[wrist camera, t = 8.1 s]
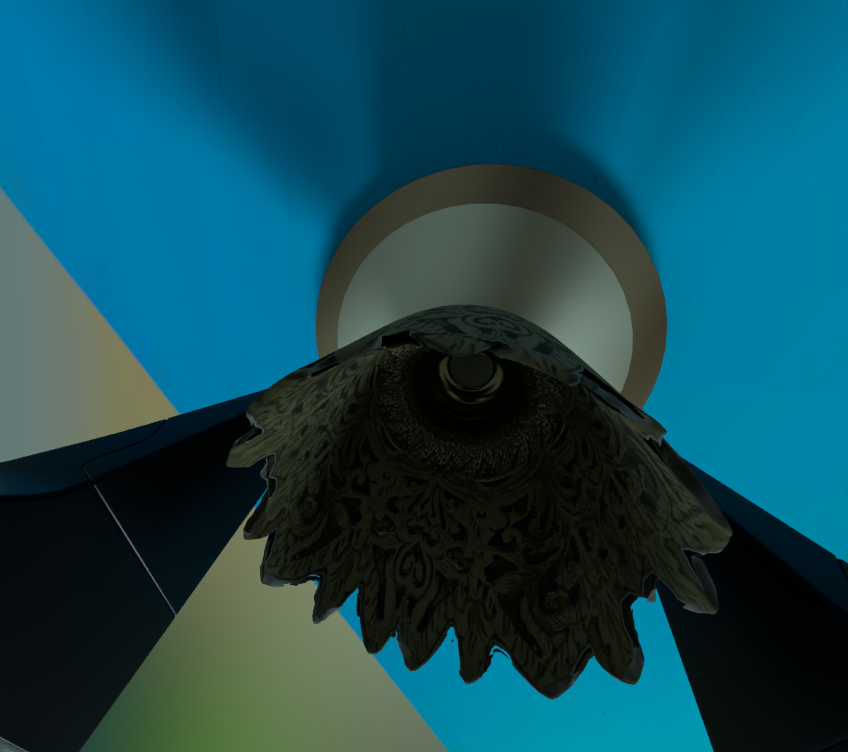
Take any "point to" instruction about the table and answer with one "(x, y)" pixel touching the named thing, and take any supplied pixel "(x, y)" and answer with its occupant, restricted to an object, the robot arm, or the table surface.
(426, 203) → the hub plate
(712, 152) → the table surface
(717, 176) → the table surface
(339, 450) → the cup
